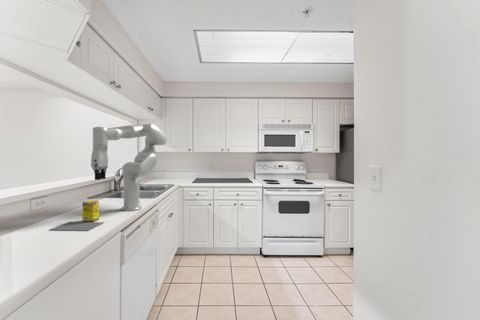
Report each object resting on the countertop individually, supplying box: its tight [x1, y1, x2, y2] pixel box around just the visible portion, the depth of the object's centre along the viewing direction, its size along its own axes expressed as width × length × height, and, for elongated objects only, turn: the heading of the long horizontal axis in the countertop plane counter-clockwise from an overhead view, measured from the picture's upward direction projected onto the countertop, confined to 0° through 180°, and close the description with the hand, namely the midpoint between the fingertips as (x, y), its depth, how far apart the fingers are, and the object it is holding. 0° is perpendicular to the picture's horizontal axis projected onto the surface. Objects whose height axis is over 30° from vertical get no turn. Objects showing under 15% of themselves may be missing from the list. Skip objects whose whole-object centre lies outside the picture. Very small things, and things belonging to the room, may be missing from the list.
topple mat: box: [49, 221, 105, 232], centre depth 125 cm, size 14×19×1 cm
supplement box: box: [81, 199, 100, 222], centre depth 135 cm, size 6×6×11 cm
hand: (100, 179), depth 144 cm, fingers open, 4 cm apart
